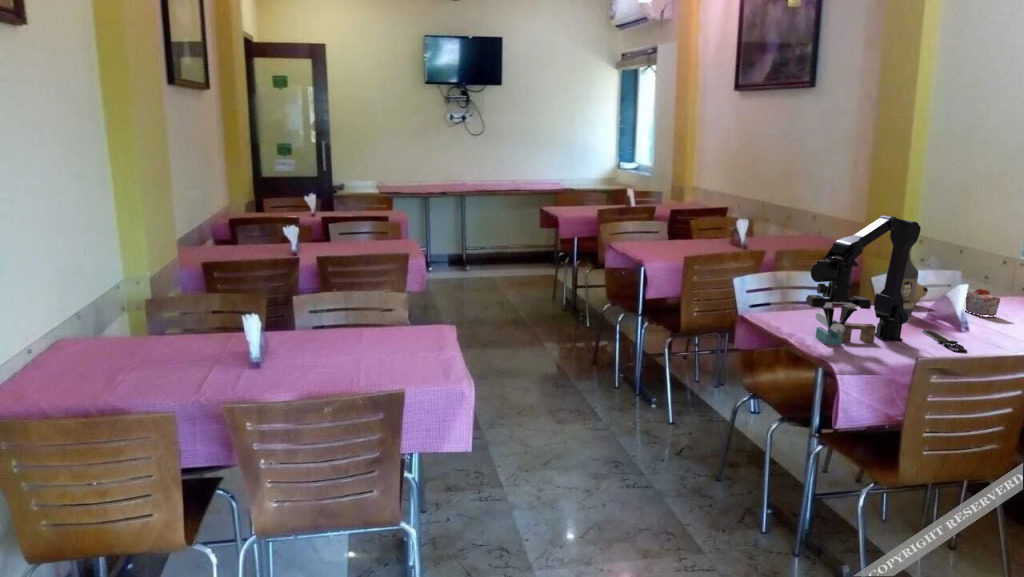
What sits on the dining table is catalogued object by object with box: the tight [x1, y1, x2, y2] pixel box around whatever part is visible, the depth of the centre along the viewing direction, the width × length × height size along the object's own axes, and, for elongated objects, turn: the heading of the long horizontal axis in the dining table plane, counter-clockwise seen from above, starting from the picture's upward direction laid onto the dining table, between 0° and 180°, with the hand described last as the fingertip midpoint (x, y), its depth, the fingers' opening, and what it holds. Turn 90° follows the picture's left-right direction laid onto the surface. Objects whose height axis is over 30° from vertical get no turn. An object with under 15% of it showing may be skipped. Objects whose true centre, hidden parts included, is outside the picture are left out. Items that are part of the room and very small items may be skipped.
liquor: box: [885, 246, 919, 317], centre depth 288 cm, size 9×9×30 cm
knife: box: [921, 329, 968, 354], centre depth 256 cm, size 25×6×1 cm, turn 171°
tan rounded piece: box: [913, 281, 929, 308], centre depth 303 cm, size 10×12×11 cm
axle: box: [815, 311, 845, 334], centre depth 251 cm, size 3×16×3 cm, turn 0°
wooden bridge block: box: [842, 322, 877, 343], centre depth 252 cm, size 11×3×5 cm, turn 90°
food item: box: [966, 288, 1001, 316], centre depth 293 cm, size 14×8×10 cm, turn 12°
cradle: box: [815, 326, 843, 346], centre depth 251 cm, size 5×8×4 cm, turn 0°
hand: (834, 327), depth 247 cm, fingers closed on axle, 3 cm apart
